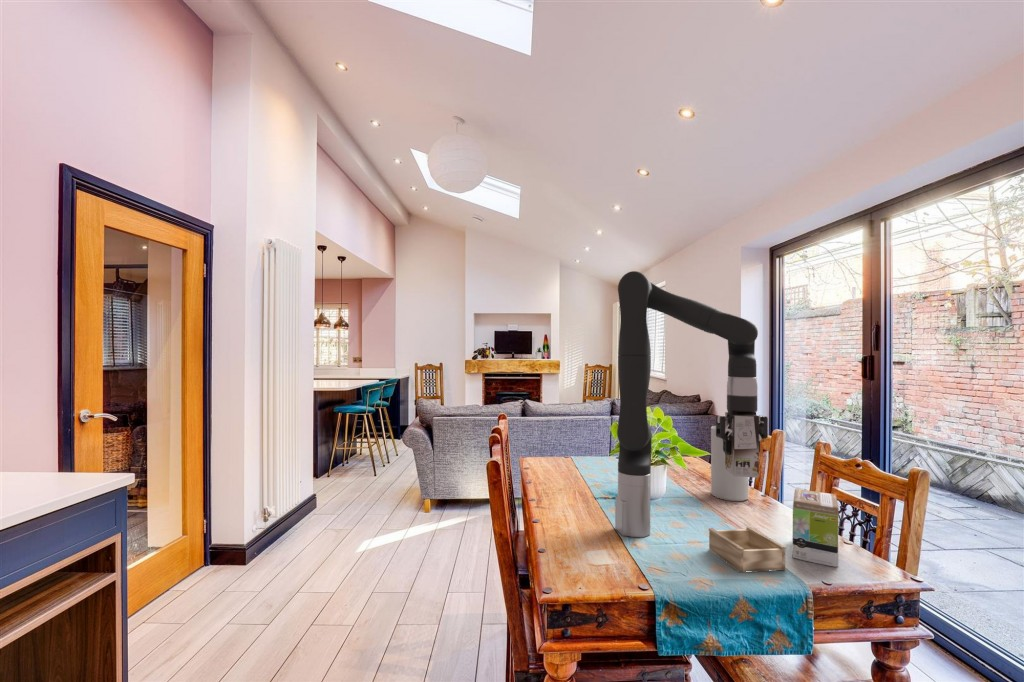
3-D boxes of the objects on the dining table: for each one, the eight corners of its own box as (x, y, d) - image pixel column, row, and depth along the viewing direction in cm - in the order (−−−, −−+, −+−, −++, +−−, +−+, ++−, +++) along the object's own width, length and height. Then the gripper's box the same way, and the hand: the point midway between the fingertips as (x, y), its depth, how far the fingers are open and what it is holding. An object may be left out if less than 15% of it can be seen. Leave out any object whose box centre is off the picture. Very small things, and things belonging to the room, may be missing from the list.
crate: (739, 572, 113) (739, 548, 113) (708, 549, 127) (708, 528, 127) (785, 570, 114) (785, 547, 115) (749, 547, 128) (749, 526, 128)
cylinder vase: (715, 489, 184) (715, 424, 185) (751, 495, 177) (751, 428, 178) (707, 497, 174) (707, 428, 175) (744, 504, 167) (744, 432, 168)
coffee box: (760, 478, 124) (760, 415, 125) (733, 476, 125) (733, 415, 126) (748, 470, 133) (749, 412, 134) (724, 468, 134) (724, 411, 135)
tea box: (839, 568, 116) (839, 507, 117) (791, 559, 121) (791, 500, 122) (836, 548, 129) (836, 492, 129) (793, 540, 134) (793, 487, 135)
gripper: (725, 394, 125) (725, 457, 125) (775, 395, 127) (775, 457, 127) (709, 392, 132) (709, 451, 132) (756, 392, 135) (756, 451, 134)
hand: (741, 454), depth 129 cm, fingers closed on coffee box, 7 cm apart
